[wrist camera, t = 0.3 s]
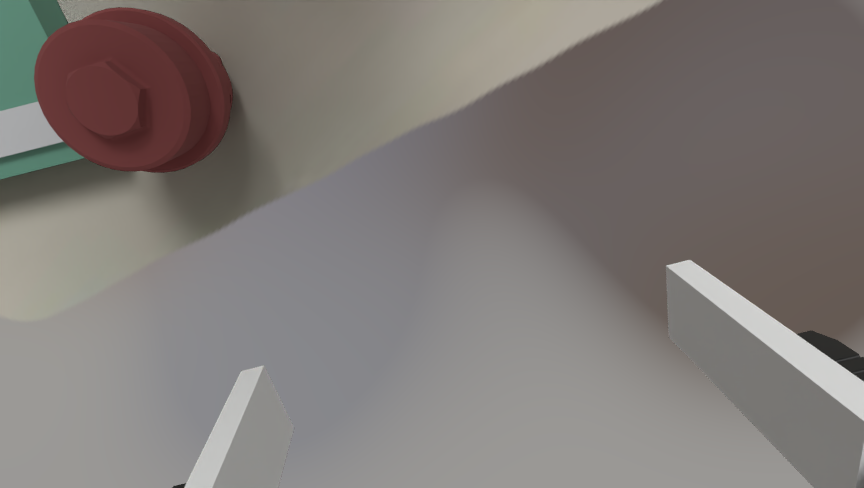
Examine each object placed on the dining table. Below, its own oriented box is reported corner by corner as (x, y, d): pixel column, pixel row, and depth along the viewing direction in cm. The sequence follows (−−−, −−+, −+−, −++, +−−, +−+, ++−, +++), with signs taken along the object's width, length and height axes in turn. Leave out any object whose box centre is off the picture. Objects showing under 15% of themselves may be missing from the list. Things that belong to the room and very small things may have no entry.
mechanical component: (102, 91, 36) (171, -14, 34) (213, 174, 39) (283, 83, 37) (-33, 107, 25) (57, -49, 22) (138, 222, 28) (233, 96, 25)
